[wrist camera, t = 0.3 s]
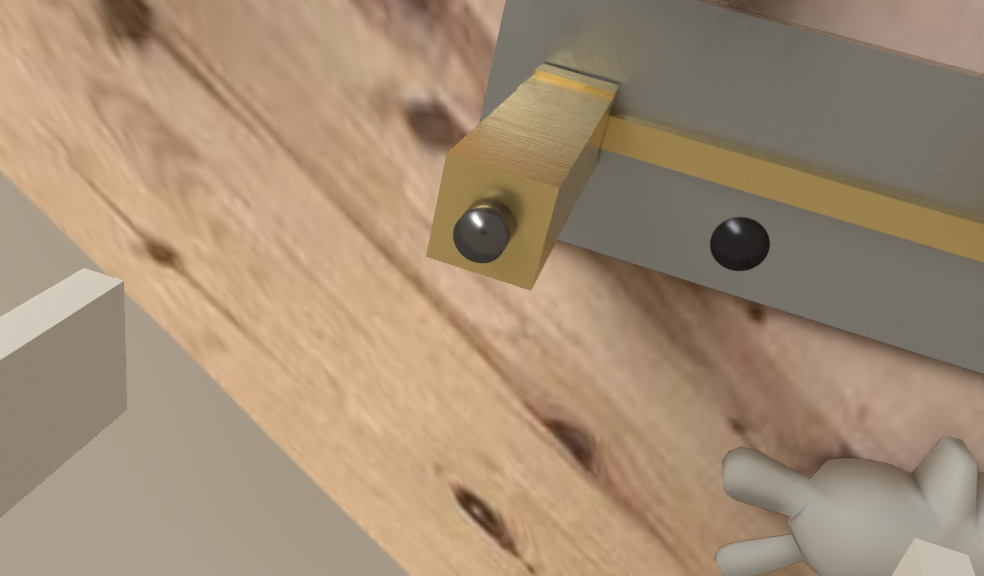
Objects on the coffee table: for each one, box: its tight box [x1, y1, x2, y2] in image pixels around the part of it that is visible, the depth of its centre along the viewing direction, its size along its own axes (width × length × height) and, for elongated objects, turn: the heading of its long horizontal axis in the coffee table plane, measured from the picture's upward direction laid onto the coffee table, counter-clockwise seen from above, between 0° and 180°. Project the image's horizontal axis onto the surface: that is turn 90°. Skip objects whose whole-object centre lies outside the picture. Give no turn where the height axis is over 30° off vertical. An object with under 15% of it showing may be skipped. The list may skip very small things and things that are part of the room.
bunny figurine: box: [714, 436, 984, 576], centre depth 41 cm, size 10×5×15 cm
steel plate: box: [479, 0, 984, 374], centre depth 36 cm, size 12×30×1 cm, turn 77°
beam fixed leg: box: [516, 84, 984, 262], centre depth 30 cm, size 6×27×15 cm, turn 77°
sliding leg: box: [426, 63, 619, 290], centre depth 31 cm, size 6×4×15 cm, turn 167°
